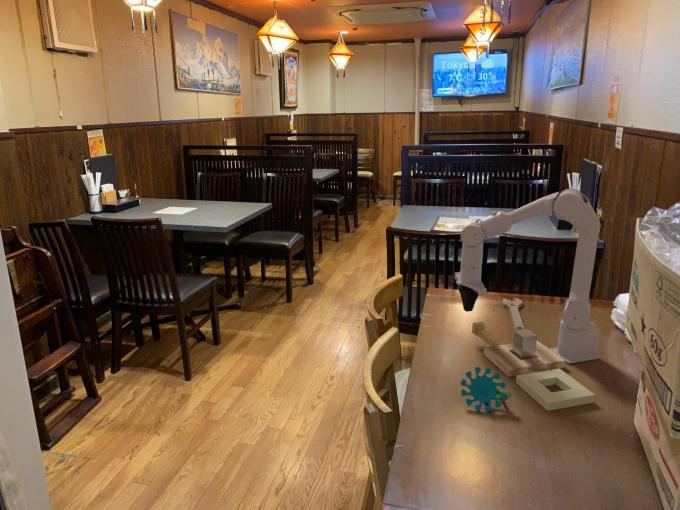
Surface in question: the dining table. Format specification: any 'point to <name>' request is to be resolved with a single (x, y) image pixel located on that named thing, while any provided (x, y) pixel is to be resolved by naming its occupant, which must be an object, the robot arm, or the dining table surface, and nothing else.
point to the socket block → (515, 366)
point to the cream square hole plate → (556, 400)
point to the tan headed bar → (485, 334)
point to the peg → (524, 344)
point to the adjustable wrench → (514, 312)
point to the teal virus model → (484, 389)
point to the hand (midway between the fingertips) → (468, 310)
